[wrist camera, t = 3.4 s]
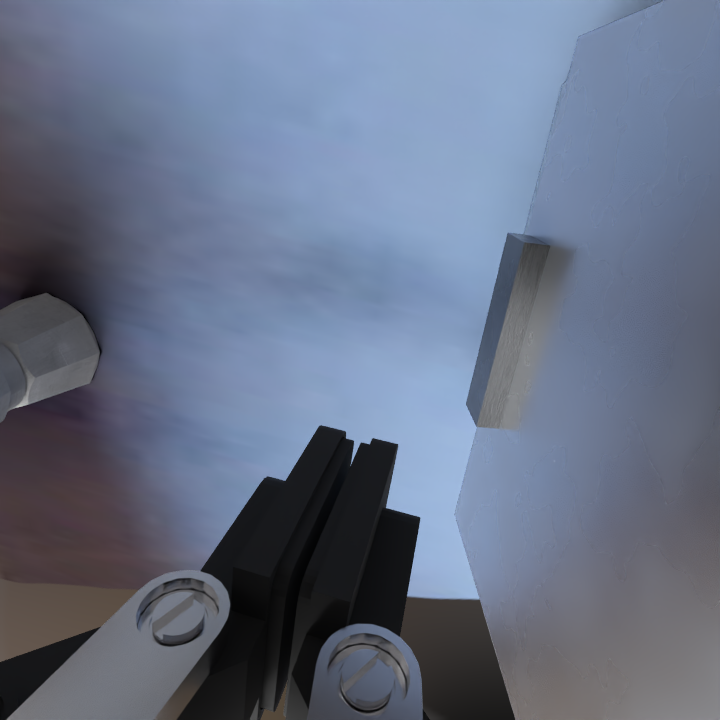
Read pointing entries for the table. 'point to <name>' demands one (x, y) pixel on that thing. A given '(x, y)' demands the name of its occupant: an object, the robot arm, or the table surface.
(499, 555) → the cooker lid
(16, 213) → the table surface
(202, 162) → the table surface
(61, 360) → the coffeepot
